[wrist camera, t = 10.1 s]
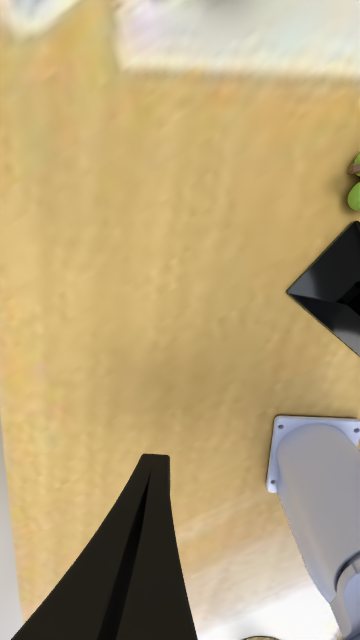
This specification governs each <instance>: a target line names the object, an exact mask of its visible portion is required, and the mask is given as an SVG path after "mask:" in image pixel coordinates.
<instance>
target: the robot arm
mask: <svg viewBox="0 0 360 640" xmlns="http://www.w3.org/2000/svg"><path fill="white" fill-rule="evenodd" d="M279 425H281V426H279ZM359 439H360V420H358V419H348V418H324V417H301V416H277V417H276V418H275V421H274V429H273V436H272V444H271V451H270V459H269V466H268V474H267V481H266V488H267V490H268V491H269V492H274V493H277V494H278V496H279V499H280V502H281V504H282V507H283V509H284V512H285V515H286V517H287V520H288V523H289V525H290V528H291V530H292V533H293V536H294V538H295V541H296V543H297V546H298V549H299V551H300V554H301V556H302V559H303V562H304V564H305V567H306V569H307V571H308V573H309V575H310V577H311V579H312V581H313V582H314V584H315V585H316V587H317V589H318V590H319V591H320V593H321V594H322V595H323V597H324V598H325V599H326V600H327V602H328V603H329V604H330V607H331V609H332V611H333V614H334V616H335V619H336V621H337V623H338V626H339V628H340V631H341V633H340V635H339V637H338V639H337V640H360V449H359V448H358V447H357V446H358V442H359ZM11 640H198V639H197V635H196V631H195V627H194V622H193V618H192V614H191V610H190V606H189V602H188V597H187V593H186V588H185V583H184V579H183V574H182V569H181V564H180V559H179V554H178V548H177V543H176V537H175V531H174V524H173V517H172V510H171V501H170V457H169V456H168V455H159V454H143V455H142V456H141V458H140V460H139V462H138V464H137V466H136V468H135V470H134V471H133V473H132V475H131V477H130V479H129V481H128V482H127V484H126V486H125V487H124V489H123V491H122V492H121V494H120V496H119V497H118V499H117V501H116V502H115V504H114V506H113V507H112V509H111V510H110V512H109V513H108V515H107V516H106V518H105V519H104V521H103V522H102V524H101V526H100V527H99V529H98V530H97V531H96V533H95V534H94V536H93V537H92V539H91V540H90V541H89V543H88V544H87V546H86V547H85V548H84V550H83V551H82V552H81V554H80V555H79V557H78V558H77V559H76V561H75V562H74V563H73V565H72V566H71V567H70V568H69V570H68V571H67V572H66V574H65V575H64V576H63V577H62V579H61V580H60V581H59V583H58V584H57V585H56V586H55V588H54V589H53V590H52V591H51V593H50V594H49V595H48V596H47V598H46V599H45V600H44V601H43V602H42V604H41V605H40V606H39V607H38V608H37V610H36V611H35V612H34V613H33V614H32V615H31V617H30V618H29V619H28V620H27V621H26V623H25V624H24V625H23V626H22V627H21V629H20V630H19V631H18V632H17V633H16V634H15V635H14V637H13V638H12V639H11Z"/></svg>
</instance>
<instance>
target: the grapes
mask: <svg viewBox="0 0 360 640" xmlns="http://www.w3.org/2000/svg"><path fill="white" fill-rule="evenodd" d="M348 174H356V175H357V176H359V177H360V153H359V154H358V156H357V157H356V160H355V162H354V164H352V165H351V166H350V167H349V169H348ZM348 205H349V206H350V208H352V209H353V210H356V211H360V182H359V183H357V184H356V185H355V186H354V187H353V188H352V190H351V191H350V193H349V195H348Z"/></svg>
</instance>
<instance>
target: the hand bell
mask: <svg viewBox="0 0 360 640" xmlns="http://www.w3.org/2000/svg"><path fill="white" fill-rule="evenodd" d="M246 640H276V639H273V638H269V637H252V638H248V639H246Z"/></svg>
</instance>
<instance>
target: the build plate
mask: <svg viewBox="0 0 360 640" xmlns="http://www.w3.org/2000/svg"><path fill="white" fill-rule="evenodd" d="M287 294H288V295H289V296H290V297H292V298H293V299H294V300H295V301H296V302H297V303H298V304H300V305H301V306H302V307H303V308H304V309H305V310H307V311H308V312H309V313H310V314H311V315H312V316H313V317H315V318H316V319H317V320H318V321H319V322H320V323H322V324H323V325H324V326H325V327H326V328H327V329H328V330H330V331H331V332H332V333H333V334H334V335H335V336H337V337H338V338H339V339H340V340H341V341H342V342H344V343H345V344H346V345H347V346H348V347H349V348H350V349H352V350H353V351H354V352H355V353H356V354H357V355H359V356H360V222H359V221H354V222H351V223H350V224H349V225H348V226H347V227H346V228H345V229H344V230H343V232H342V233H341V234H340V235H339V236H338V237H337V238H336V239H335V240H334V241H333V242H332V243H331V244H330V245H329V246H328V247H327V248H326V249H325V250H324V252H323V253H322V254H321V255H320V256H319V257H318V258H317V259H316V260H315V261H314V262H313V263H312V264H311V265H310V266H309V267H308V268H307V269H306V270H305V272H304V273H303V274H302V275H301V276H300V277H299V278H298V279H297V280H296V281H295V282H294V283H293V284H292V285H291V286H290V287H289V288H288V289H287Z"/></svg>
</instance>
